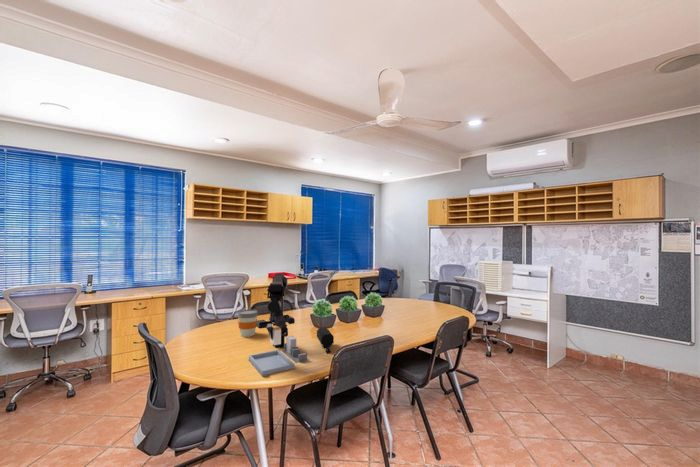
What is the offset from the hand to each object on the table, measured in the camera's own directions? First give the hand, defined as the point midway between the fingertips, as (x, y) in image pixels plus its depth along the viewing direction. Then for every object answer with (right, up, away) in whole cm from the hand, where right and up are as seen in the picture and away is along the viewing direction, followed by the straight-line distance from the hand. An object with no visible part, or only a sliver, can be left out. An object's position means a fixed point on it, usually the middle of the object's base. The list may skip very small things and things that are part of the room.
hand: (275, 339), depth 164 cm
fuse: (+5, -12, +16) cm, 20 cm away
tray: (-2, -13, -1) cm, 13 cm away
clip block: (+8, -13, +11) cm, 19 cm away
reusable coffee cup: (-29, -13, +47) cm, 57 cm away
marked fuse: (0, -2, 0) cm, 2 cm away
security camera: (+24, -13, +23) cm, 36 cm away
